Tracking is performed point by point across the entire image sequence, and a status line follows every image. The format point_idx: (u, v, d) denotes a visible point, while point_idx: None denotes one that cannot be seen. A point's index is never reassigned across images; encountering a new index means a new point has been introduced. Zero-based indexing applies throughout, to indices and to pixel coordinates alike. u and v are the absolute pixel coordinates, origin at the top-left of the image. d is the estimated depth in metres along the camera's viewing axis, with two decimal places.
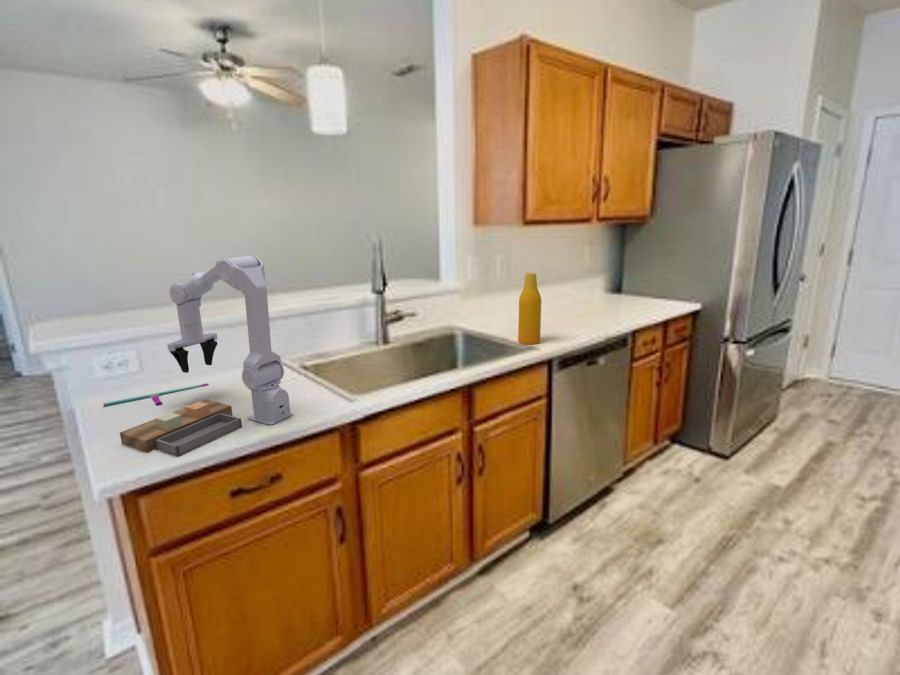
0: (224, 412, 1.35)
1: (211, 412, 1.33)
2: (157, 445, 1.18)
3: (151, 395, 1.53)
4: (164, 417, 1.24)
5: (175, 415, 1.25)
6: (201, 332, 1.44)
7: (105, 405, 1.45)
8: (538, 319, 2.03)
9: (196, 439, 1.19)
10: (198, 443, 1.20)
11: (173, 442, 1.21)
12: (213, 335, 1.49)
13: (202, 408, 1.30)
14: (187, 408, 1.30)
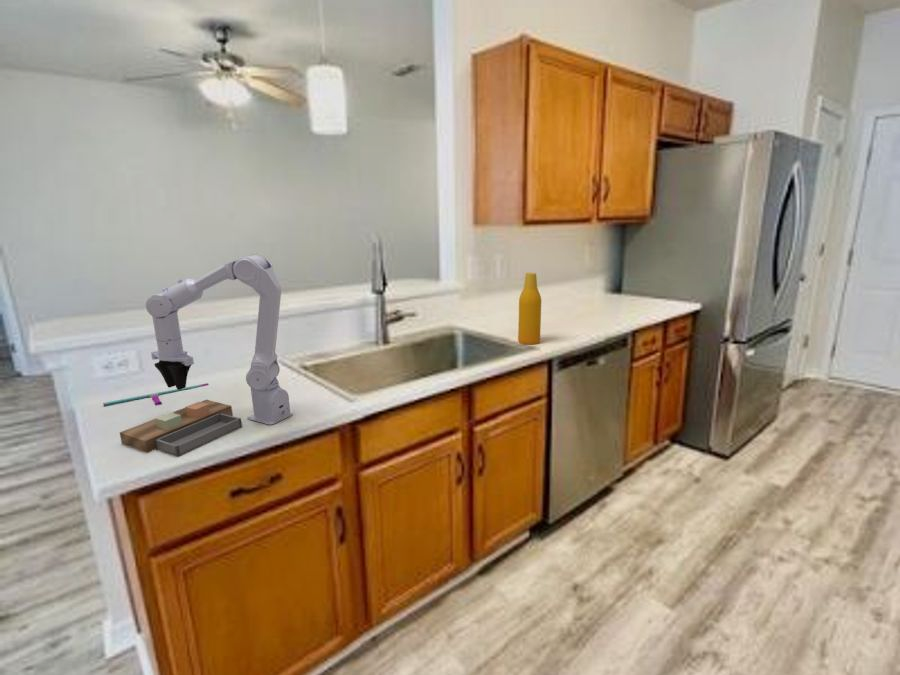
0: (224, 412, 1.35)
1: (211, 412, 1.33)
2: (157, 445, 1.18)
3: (151, 395, 1.53)
4: (164, 417, 1.24)
5: (175, 415, 1.25)
6: (164, 351, 1.28)
7: (105, 405, 1.46)
8: (538, 319, 2.03)
9: (196, 439, 1.19)
10: (198, 443, 1.20)
11: (173, 442, 1.21)
12: (182, 359, 1.28)
13: (202, 408, 1.30)
14: (187, 408, 1.30)
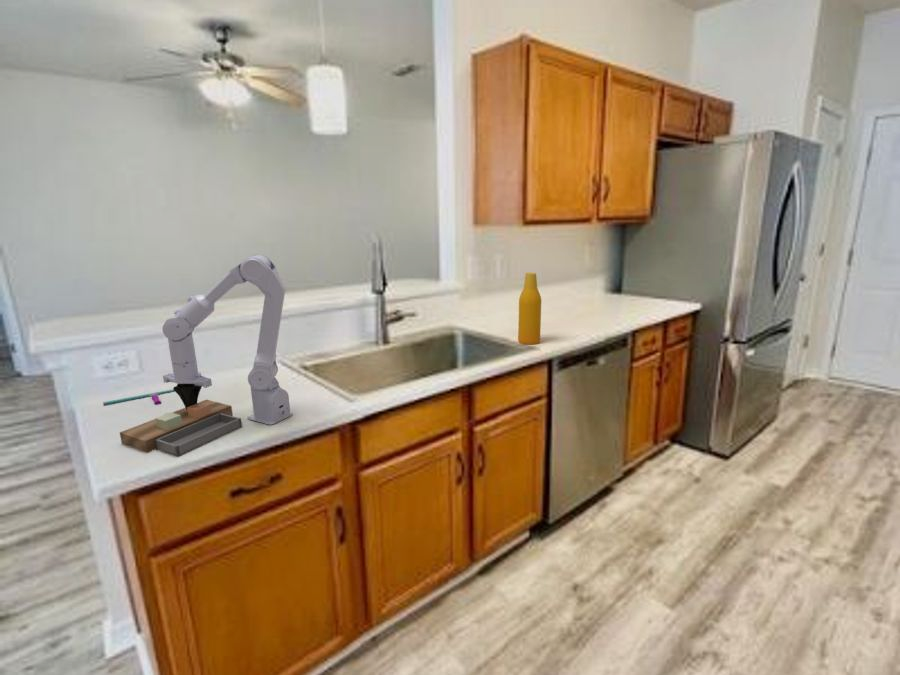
0: (224, 412, 1.35)
1: None
2: (157, 445, 1.18)
3: (151, 394, 1.53)
4: (164, 417, 1.24)
5: (175, 415, 1.25)
6: (181, 374, 1.27)
7: (105, 404, 1.46)
8: (538, 319, 2.03)
9: (196, 439, 1.19)
10: (198, 443, 1.20)
11: (173, 442, 1.21)
12: (201, 381, 1.27)
13: (204, 409, 1.30)
14: (189, 408, 1.29)
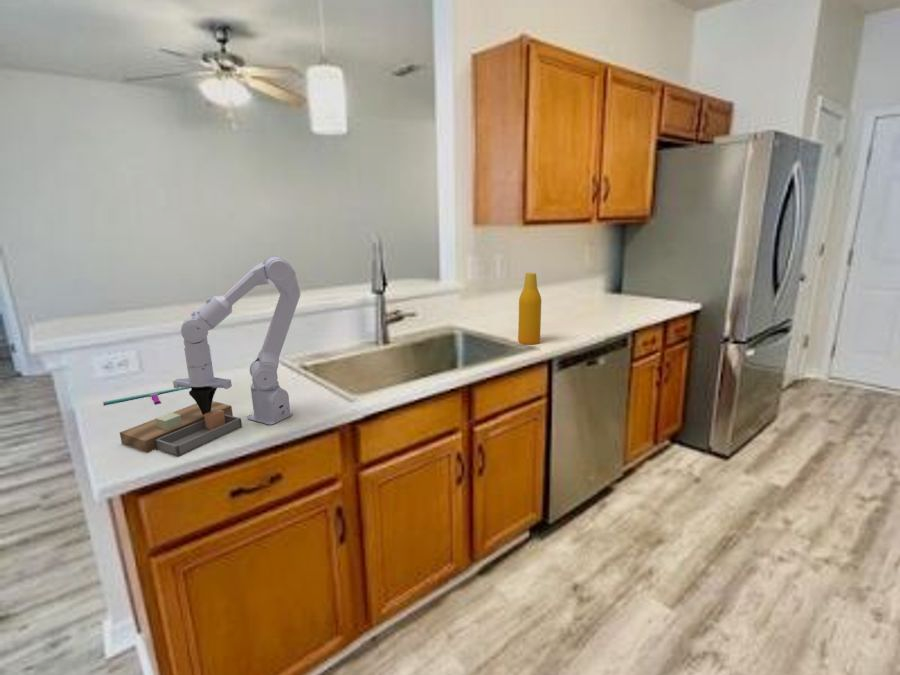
0: (224, 412, 1.35)
1: None
2: (157, 445, 1.18)
3: (150, 394, 1.54)
4: (164, 417, 1.24)
5: (175, 415, 1.25)
6: (200, 376, 1.24)
7: (105, 403, 1.47)
8: (538, 319, 2.03)
9: (196, 439, 1.19)
10: (198, 443, 1.20)
11: (173, 442, 1.21)
12: (222, 383, 1.26)
13: None
14: (210, 419, 1.27)
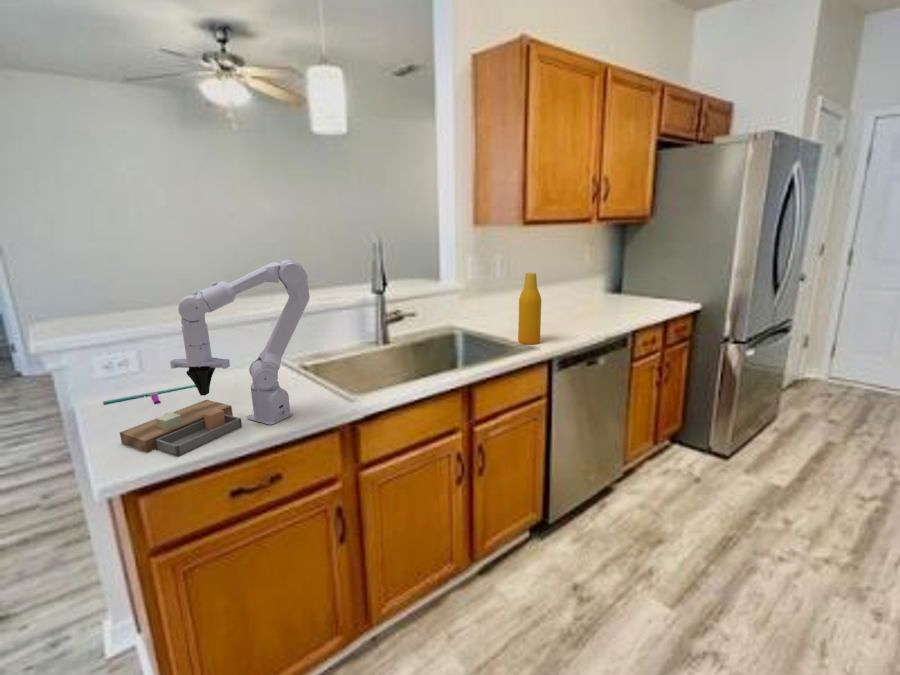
0: (224, 412, 1.35)
1: None
2: (157, 445, 1.18)
3: (150, 393, 1.54)
4: (164, 417, 1.24)
5: (175, 415, 1.25)
6: (198, 356, 1.23)
7: (105, 403, 1.47)
8: (538, 319, 2.03)
9: (196, 439, 1.19)
10: (198, 443, 1.20)
11: (173, 442, 1.21)
12: (220, 363, 1.24)
13: None
14: (209, 418, 1.27)
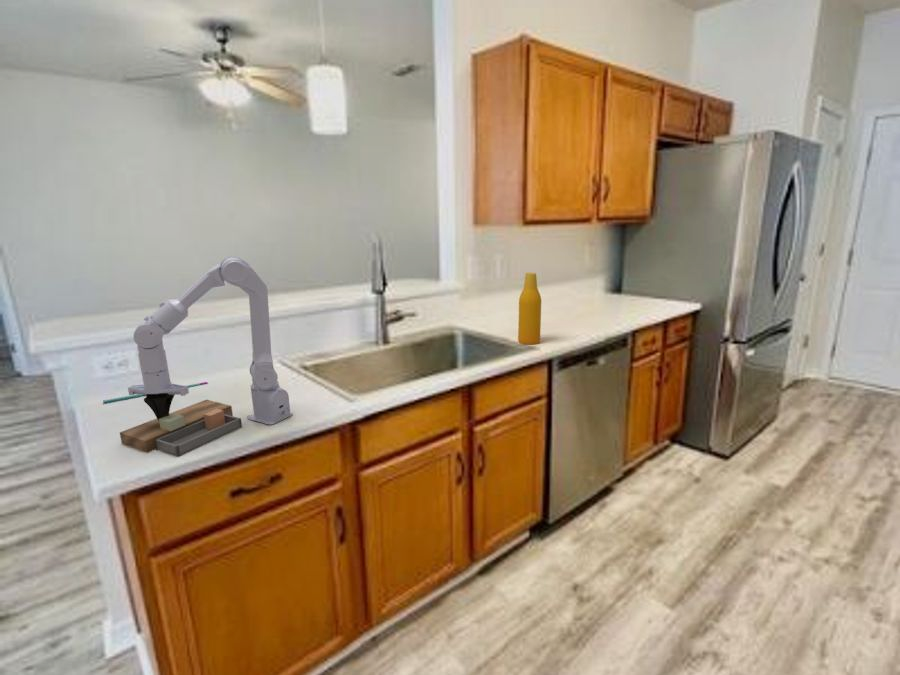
0: (224, 412, 1.35)
1: None
2: (157, 445, 1.18)
3: None
4: (167, 418, 1.23)
5: (178, 416, 1.24)
6: (155, 383, 1.20)
7: (105, 402, 1.48)
8: (538, 319, 2.03)
9: (196, 439, 1.19)
10: (198, 443, 1.20)
11: (173, 442, 1.21)
12: (178, 390, 1.22)
13: None
14: (209, 418, 1.27)
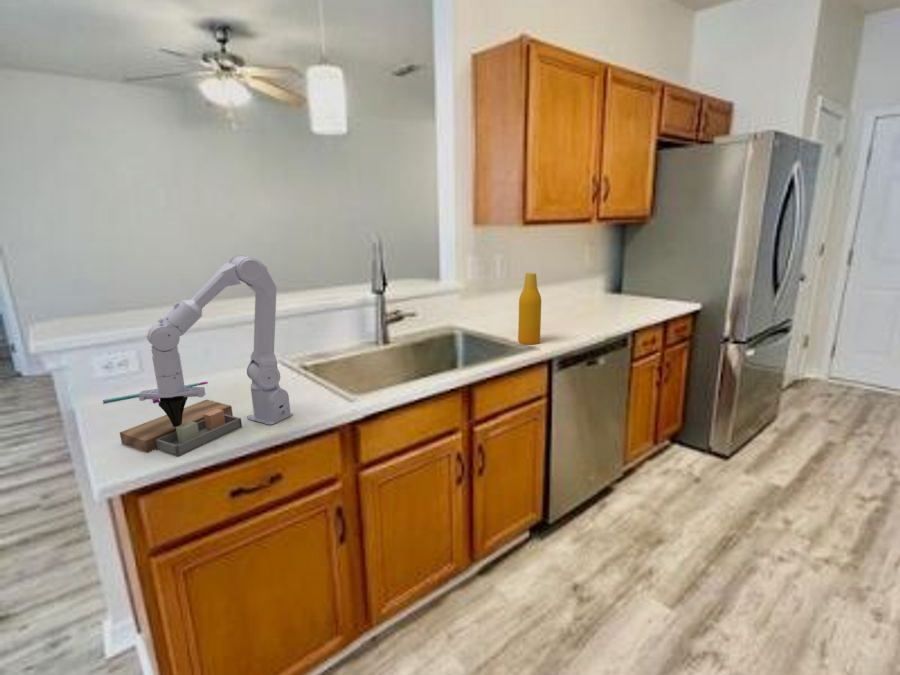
0: (224, 412, 1.35)
1: None
2: (157, 445, 1.18)
3: None
4: (188, 433, 1.21)
5: (196, 435, 1.23)
6: (172, 386, 1.18)
7: (105, 402, 1.48)
8: (538, 319, 2.03)
9: (196, 439, 1.19)
10: (198, 443, 1.20)
11: (173, 442, 1.21)
12: (196, 391, 1.20)
13: None
14: (209, 418, 1.27)
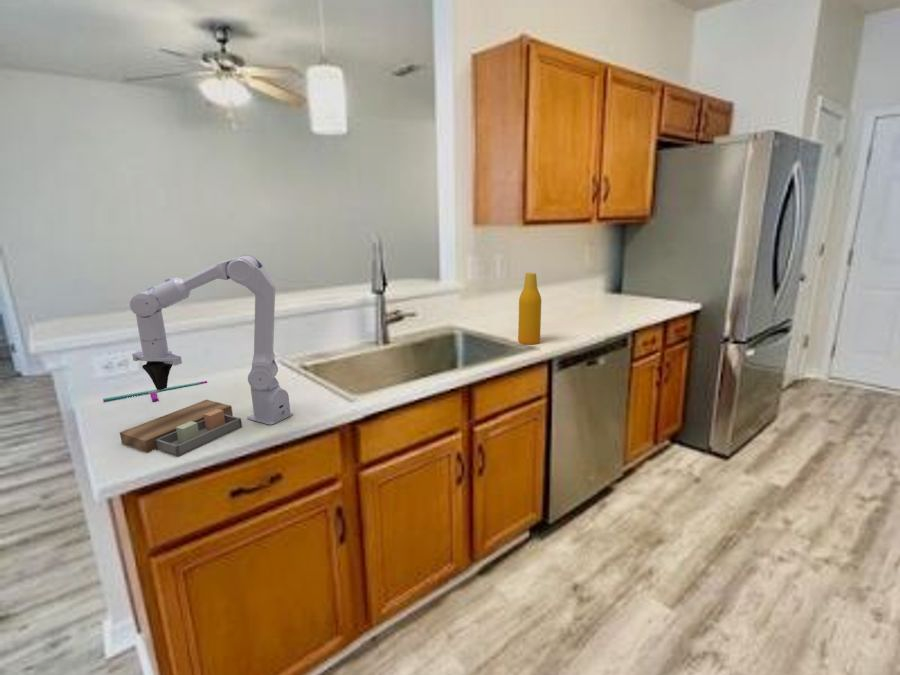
0: (224, 412, 1.35)
1: None
2: (157, 445, 1.18)
3: (150, 391, 1.56)
4: (188, 433, 1.21)
5: (196, 435, 1.23)
6: (150, 351, 1.24)
7: (105, 400, 1.49)
8: (538, 319, 2.03)
9: (196, 439, 1.19)
10: (198, 443, 1.20)
11: (173, 442, 1.21)
12: (170, 359, 1.25)
13: None
14: (209, 418, 1.27)
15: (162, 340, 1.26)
